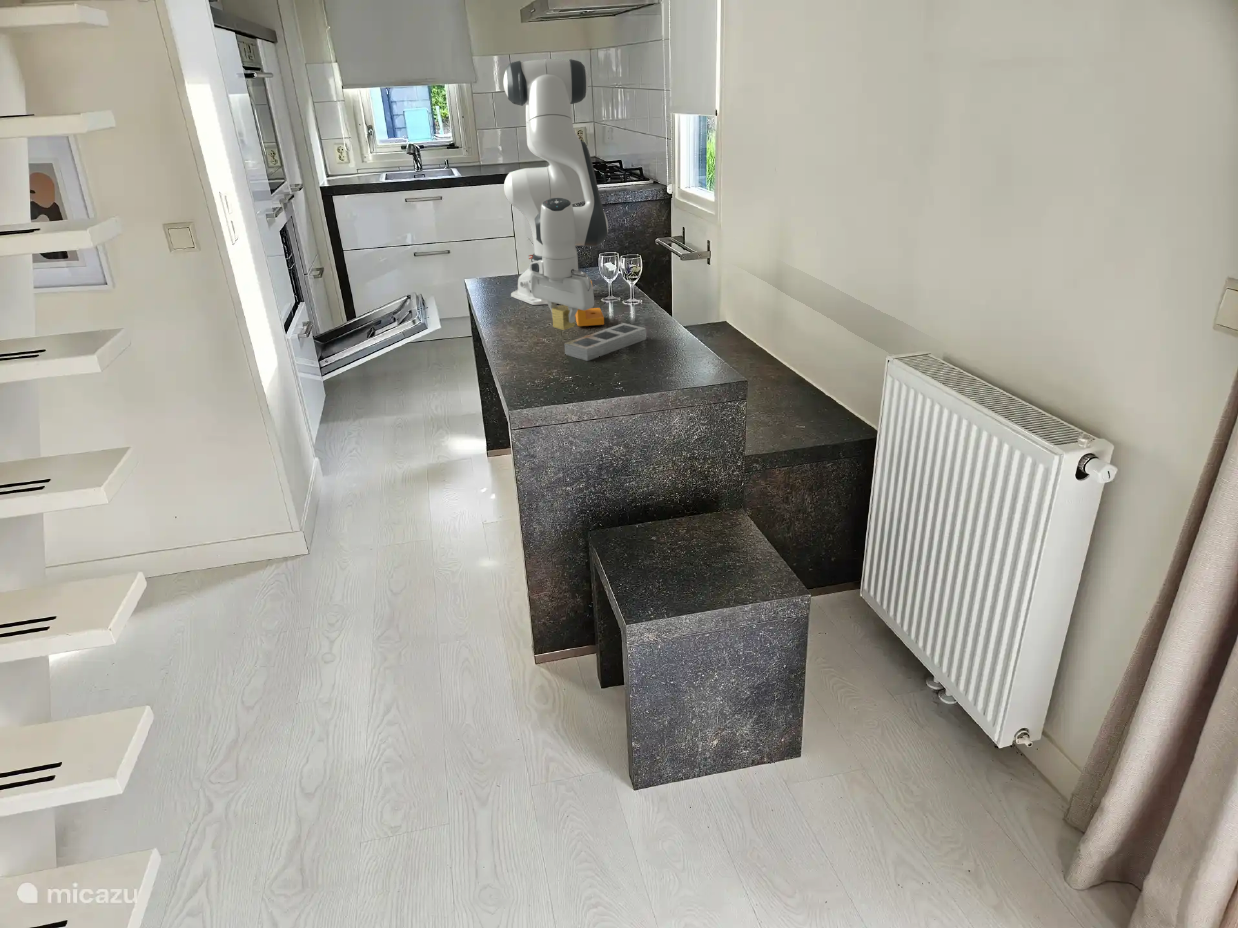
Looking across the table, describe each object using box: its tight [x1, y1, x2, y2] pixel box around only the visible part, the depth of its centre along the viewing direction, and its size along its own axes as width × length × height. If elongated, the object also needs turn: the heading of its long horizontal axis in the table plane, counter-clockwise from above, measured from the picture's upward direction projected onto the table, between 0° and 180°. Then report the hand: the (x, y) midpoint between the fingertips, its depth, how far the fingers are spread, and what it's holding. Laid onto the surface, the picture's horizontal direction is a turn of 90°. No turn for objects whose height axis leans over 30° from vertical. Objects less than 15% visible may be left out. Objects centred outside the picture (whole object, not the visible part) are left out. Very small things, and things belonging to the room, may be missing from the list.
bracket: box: [575, 280, 605, 327], centre depth 227 cm, size 11×7×12 cm, turn 8°
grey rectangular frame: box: [563, 322, 647, 361], centre depth 209 cm, size 8×22×3 cm, turn 137°
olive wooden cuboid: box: [551, 304, 576, 331], centre depth 210 cm, size 4×4×5 cm
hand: (563, 320), depth 210 cm, fingers closed on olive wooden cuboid, 4 cm apart
